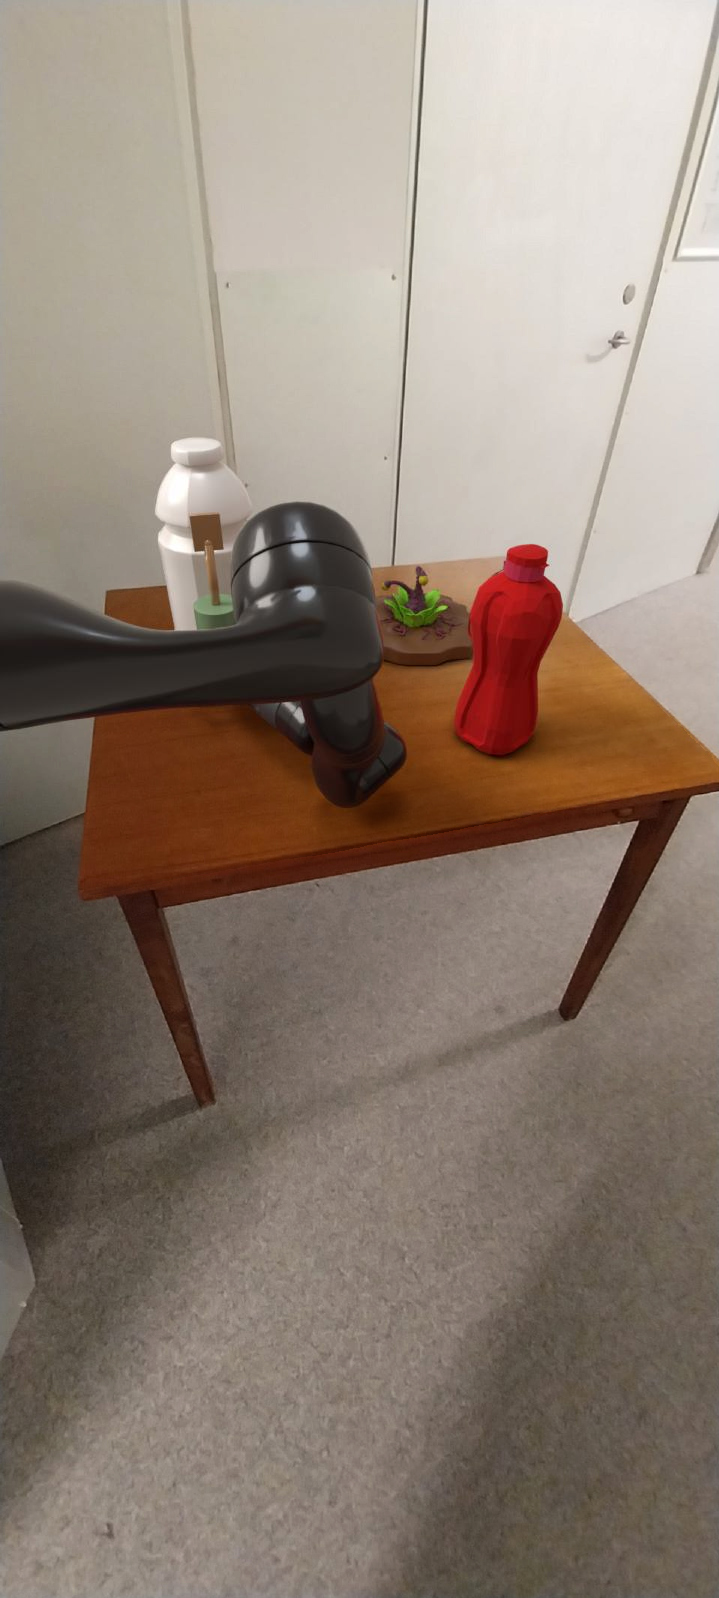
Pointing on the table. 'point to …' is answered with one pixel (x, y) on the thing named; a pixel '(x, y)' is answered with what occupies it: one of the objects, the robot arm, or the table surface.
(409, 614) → the plant
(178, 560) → the bottle
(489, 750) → the water bottle
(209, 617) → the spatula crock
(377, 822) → the table surface
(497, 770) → the table surface
